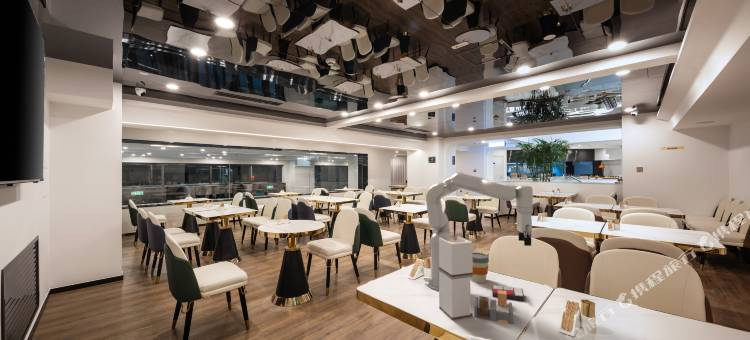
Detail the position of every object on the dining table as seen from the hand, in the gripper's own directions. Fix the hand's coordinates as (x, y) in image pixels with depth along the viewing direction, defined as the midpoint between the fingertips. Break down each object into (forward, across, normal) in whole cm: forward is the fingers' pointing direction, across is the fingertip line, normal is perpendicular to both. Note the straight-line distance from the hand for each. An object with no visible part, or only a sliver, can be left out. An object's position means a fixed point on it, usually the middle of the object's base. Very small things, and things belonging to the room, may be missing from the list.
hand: (524, 243), depth 152 cm
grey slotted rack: (+30, +21, -20) cm, 41 cm away
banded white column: (+30, +21, -36) cm, 51 cm away
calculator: (+30, -3, -8) cm, 31 cm away
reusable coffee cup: (+30, -24, -20) cm, 43 cm away
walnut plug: (+28, +20, -24) cm, 42 cm away
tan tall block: (+30, +9, -13) cm, 34 cm away
